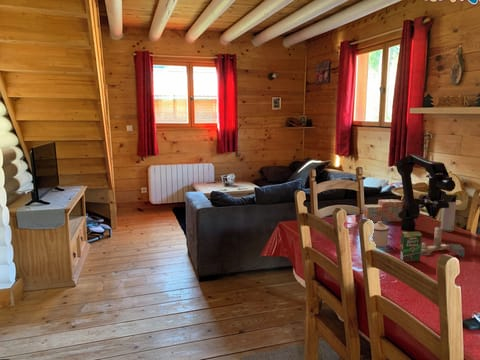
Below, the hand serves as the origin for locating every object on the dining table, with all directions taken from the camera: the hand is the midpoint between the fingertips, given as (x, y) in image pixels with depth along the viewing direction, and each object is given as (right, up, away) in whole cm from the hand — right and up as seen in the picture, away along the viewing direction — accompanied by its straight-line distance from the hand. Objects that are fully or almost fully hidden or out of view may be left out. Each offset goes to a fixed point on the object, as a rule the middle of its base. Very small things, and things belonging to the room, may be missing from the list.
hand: (432, 217), depth 185 cm
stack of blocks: (-11, -6, +38) cm, 40 cm away
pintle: (-12, -15, -15) cm, 24 cm away
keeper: (+1, -15, -18) cm, 24 cm away
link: (-7, -14, -13) cm, 20 cm away
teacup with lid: (-30, -13, -2) cm, 33 cm away
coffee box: (-22, -17, -23) cm, 36 cm away
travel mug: (+17, -9, +17) cm, 26 cm away
